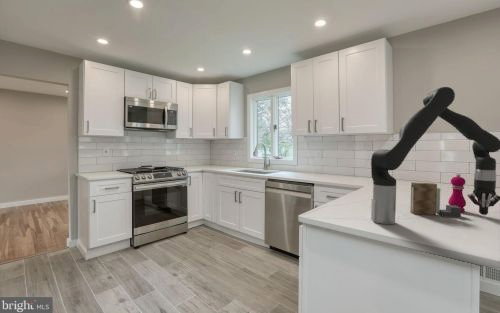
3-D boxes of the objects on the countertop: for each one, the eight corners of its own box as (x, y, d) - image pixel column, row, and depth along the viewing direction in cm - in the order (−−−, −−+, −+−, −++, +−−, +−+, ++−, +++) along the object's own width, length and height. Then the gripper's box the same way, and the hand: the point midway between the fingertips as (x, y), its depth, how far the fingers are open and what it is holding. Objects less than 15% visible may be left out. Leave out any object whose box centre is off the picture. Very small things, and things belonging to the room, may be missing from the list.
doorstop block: (441, 216, 119) (441, 206, 118) (436, 213, 124) (436, 204, 123) (460, 218, 117) (461, 207, 116) (454, 215, 121) (455, 205, 121)
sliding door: (412, 211, 124) (413, 187, 123) (411, 210, 125) (412, 187, 124) (439, 213, 121) (440, 188, 120) (438, 212, 122) (439, 188, 121)
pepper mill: (465, 210, 129) (467, 173, 128) (465, 213, 123) (467, 175, 122) (448, 208, 134) (449, 172, 133) (447, 211, 128) (448, 173, 127)
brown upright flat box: (413, 214, 123) (414, 183, 122) (410, 212, 126) (411, 182, 125) (435, 215, 120) (437, 184, 119) (432, 213, 123) (433, 183, 123)
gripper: (496, 178, 117) (494, 213, 118) (463, 177, 121) (462, 211, 122) (508, 180, 110) (506, 217, 111) (473, 179, 114) (471, 215, 114)
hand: (483, 214), depth 116 cm, fingers closed
